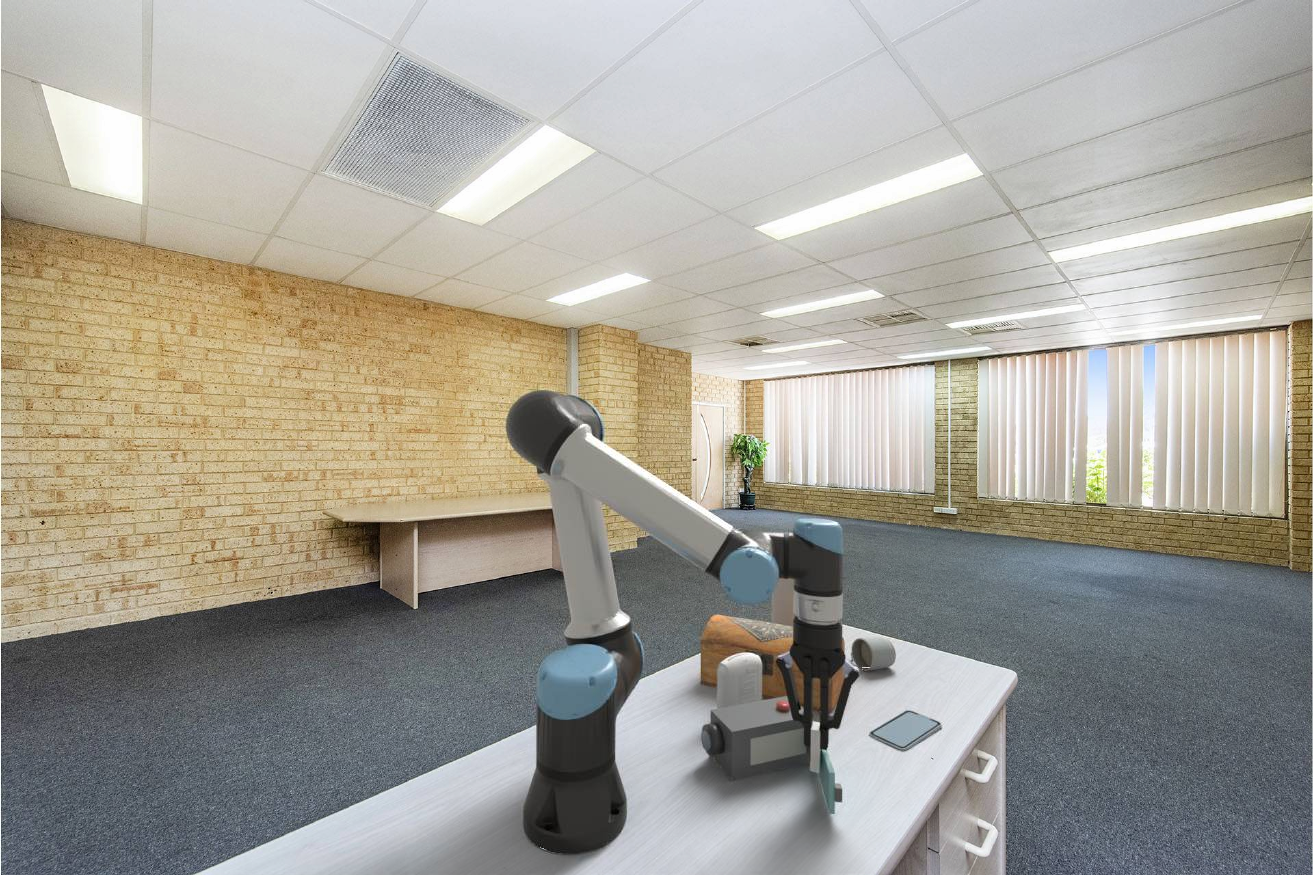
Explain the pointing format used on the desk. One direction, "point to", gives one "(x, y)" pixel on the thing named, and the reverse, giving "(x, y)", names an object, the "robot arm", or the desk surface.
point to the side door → (829, 782)
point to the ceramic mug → (873, 653)
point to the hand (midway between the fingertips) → (815, 767)
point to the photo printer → (739, 680)
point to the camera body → (755, 738)
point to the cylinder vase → (783, 602)
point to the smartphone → (905, 730)
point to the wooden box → (767, 643)
